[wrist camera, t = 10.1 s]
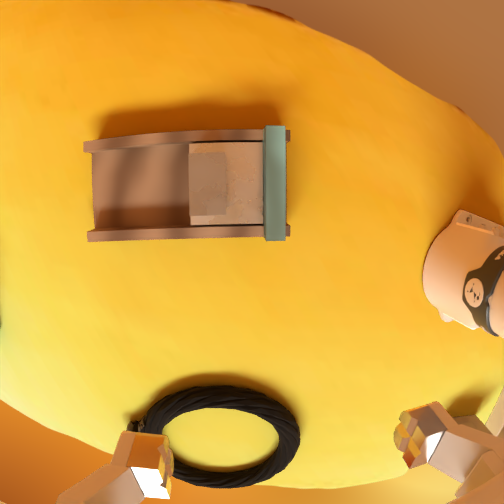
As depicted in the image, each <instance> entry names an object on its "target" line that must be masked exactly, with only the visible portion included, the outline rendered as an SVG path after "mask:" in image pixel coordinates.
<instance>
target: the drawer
mask: <svg viewBox="0 0 504 504" xmlns="http://www.w3.org/2000/svg"><path fill="white" fill-rule="evenodd" d="M289 141H290V130H285V126H270V125H266V126H265V127H264V129H222V130H194V131H177V132H163V133H151V134H141V135H131V136H122V137H114V138H107V139H100V140H93V141H86V142H84V152H88V153H92V187H93V208H94V223H95V229H93V230H91V231H88V232H87V239H88V242H98V241H125V240H154V239H187V238H227V237H264V238H265V240H266V241H285V236H290V225H289V224H287V223H286V143H287V142H289ZM227 142H263V224H215V225H191V218H190V209H189V156H188V153H189V144H196V143H227Z"/></svg>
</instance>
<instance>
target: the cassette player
mask: <svg viewBox="0 0 504 504" xmlns="http://www.w3.org/2000/svg"><path fill="white" fill-rule="evenodd" d="M452 418H453V419H454V420H455V421H456V423H457V424H458V425H460V424H463V425H465V426H468V427H471V428H474V429H476V430H479V431H482V432H485V433H488V434H491V435H493V434H492V433H491V432H490V430H489V429H488V428H487V427H486V426H485V425H484V424H483V423H482V422H481V421H480V420H479V419H478V417H477V416H476V415H469V416H461V417H452Z"/></svg>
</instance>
